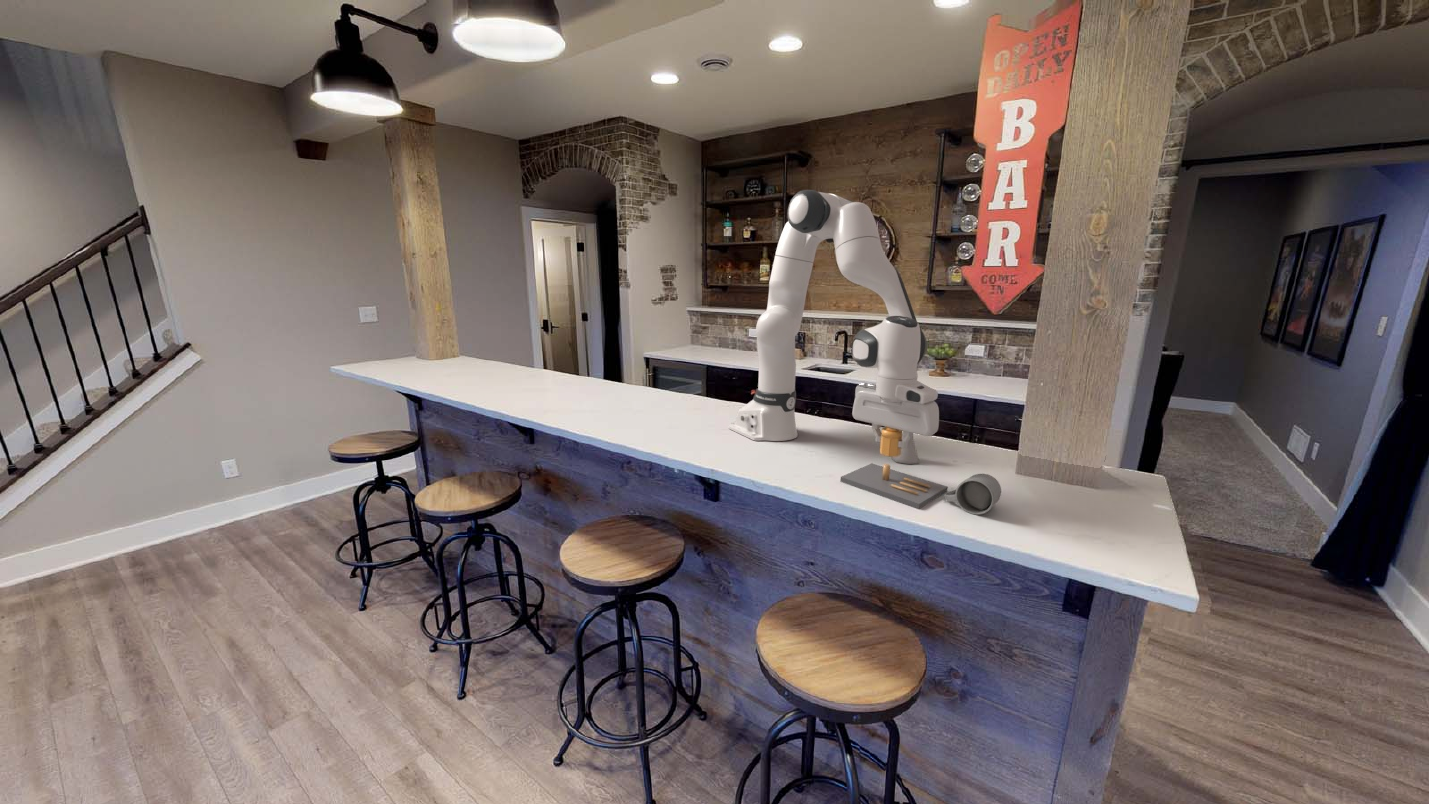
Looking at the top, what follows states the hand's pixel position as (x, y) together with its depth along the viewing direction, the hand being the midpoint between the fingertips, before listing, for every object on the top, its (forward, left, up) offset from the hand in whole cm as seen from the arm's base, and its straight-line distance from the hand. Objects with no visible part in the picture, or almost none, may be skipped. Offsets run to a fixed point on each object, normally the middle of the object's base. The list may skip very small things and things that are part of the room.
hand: (890, 445), depth 126 cm
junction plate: (+2, 0, -10) cm, 10 cm away
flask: (-5, +19, -10) cm, 22 cm away
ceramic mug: (+19, +2, -10) cm, 21 cm away
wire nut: (0, 0, -2) cm, 2 cm away
